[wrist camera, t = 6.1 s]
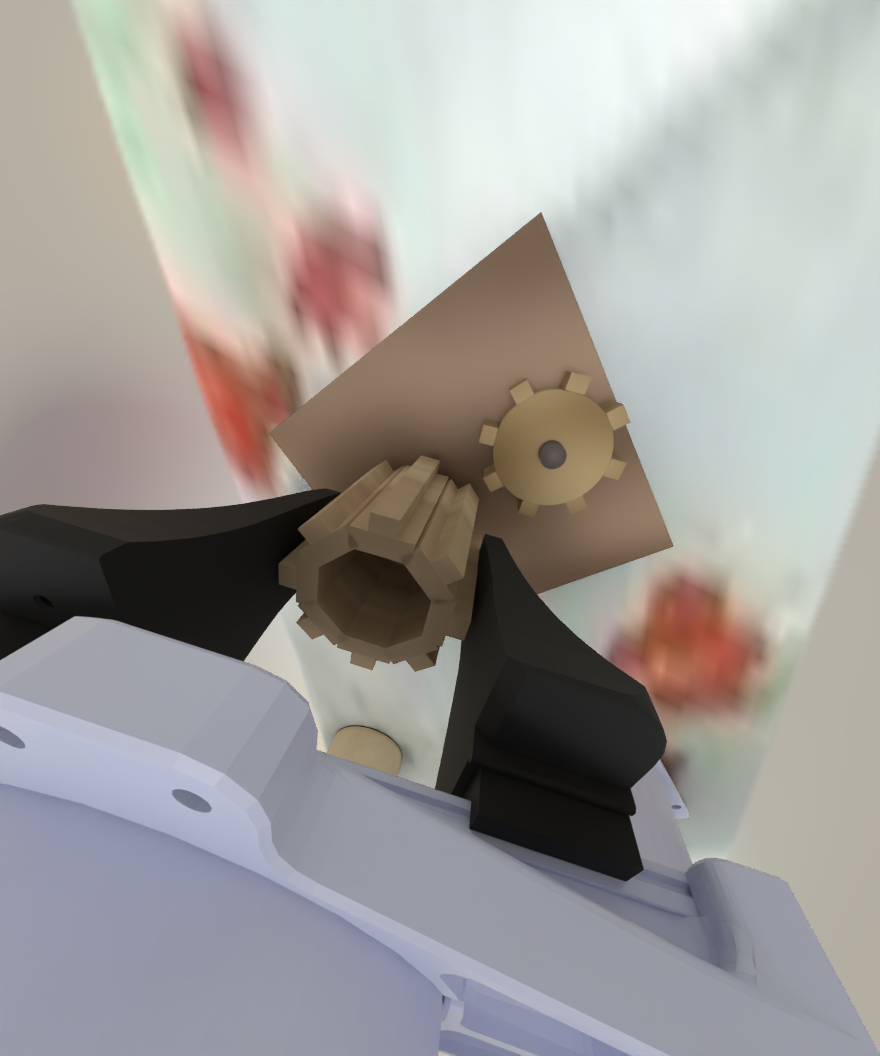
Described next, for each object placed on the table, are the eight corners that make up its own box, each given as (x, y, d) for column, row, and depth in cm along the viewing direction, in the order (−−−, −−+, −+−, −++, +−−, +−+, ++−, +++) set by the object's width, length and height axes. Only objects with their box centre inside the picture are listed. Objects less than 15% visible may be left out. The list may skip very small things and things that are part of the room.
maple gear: (507, 546, 13) (507, 643, 8) (402, 591, 15) (357, 688, 10) (436, 428, 11) (392, 471, 7) (329, 495, 13) (241, 562, 9)
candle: (353, 714, 24) (263, 924, 15) (416, 751, 24) (365, 972, 15) (323, 743, 26) (231, 937, 17) (381, 776, 27) (320, 977, 18)
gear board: (662, 534, 14) (733, 612, 9) (427, 620, 18) (403, 699, 14) (538, 225, 10) (561, 124, 6) (283, 428, 15) (190, 456, 10)
